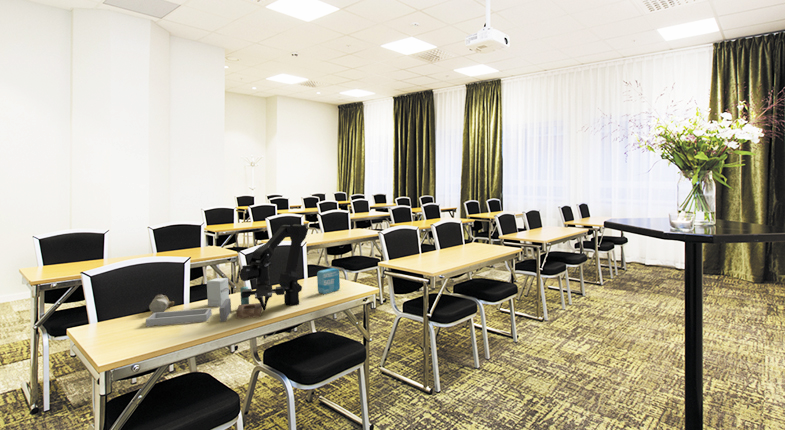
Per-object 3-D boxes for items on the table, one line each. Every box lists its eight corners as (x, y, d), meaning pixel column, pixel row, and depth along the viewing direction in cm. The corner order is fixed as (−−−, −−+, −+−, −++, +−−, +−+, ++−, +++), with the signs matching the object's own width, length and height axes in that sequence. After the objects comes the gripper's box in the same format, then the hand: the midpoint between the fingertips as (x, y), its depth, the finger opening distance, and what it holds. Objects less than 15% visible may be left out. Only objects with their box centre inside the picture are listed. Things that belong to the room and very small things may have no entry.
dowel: (249, 306, 203) (248, 286, 202) (248, 308, 199) (247, 288, 199) (241, 307, 202) (240, 287, 201) (240, 309, 199) (239, 288, 198)
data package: (323, 294, 222) (322, 272, 221) (317, 293, 225) (316, 271, 224) (340, 290, 231) (339, 268, 230) (334, 288, 234) (333, 267, 233)
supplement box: (221, 306, 204) (219, 281, 203) (207, 306, 206) (205, 281, 205) (229, 302, 211) (228, 277, 210) (216, 302, 213) (215, 277, 212)
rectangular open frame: (211, 314, 192) (211, 308, 192) (206, 321, 182) (206, 314, 182) (154, 319, 187) (153, 312, 187) (146, 326, 177) (145, 319, 177)
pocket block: (262, 311, 197) (261, 302, 196) (260, 317, 187) (259, 308, 187) (239, 313, 194) (239, 304, 194) (236, 319, 185) (236, 310, 184)
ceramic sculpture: (143, 297, 192) (151, 291, 206) (144, 316, 192) (151, 309, 206) (169, 295, 195) (175, 289, 209) (169, 313, 195) (175, 307, 209)
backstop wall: (231, 310, 196) (230, 298, 196) (225, 321, 181) (224, 307, 180) (226, 311, 196) (225, 298, 196) (220, 322, 180) (219, 308, 180)
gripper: (238, 282, 181) (240, 317, 182) (283, 278, 185) (284, 313, 186) (242, 277, 192) (243, 310, 193) (284, 274, 196) (285, 306, 197)
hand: (264, 310), depth 192 cm, fingers closed
